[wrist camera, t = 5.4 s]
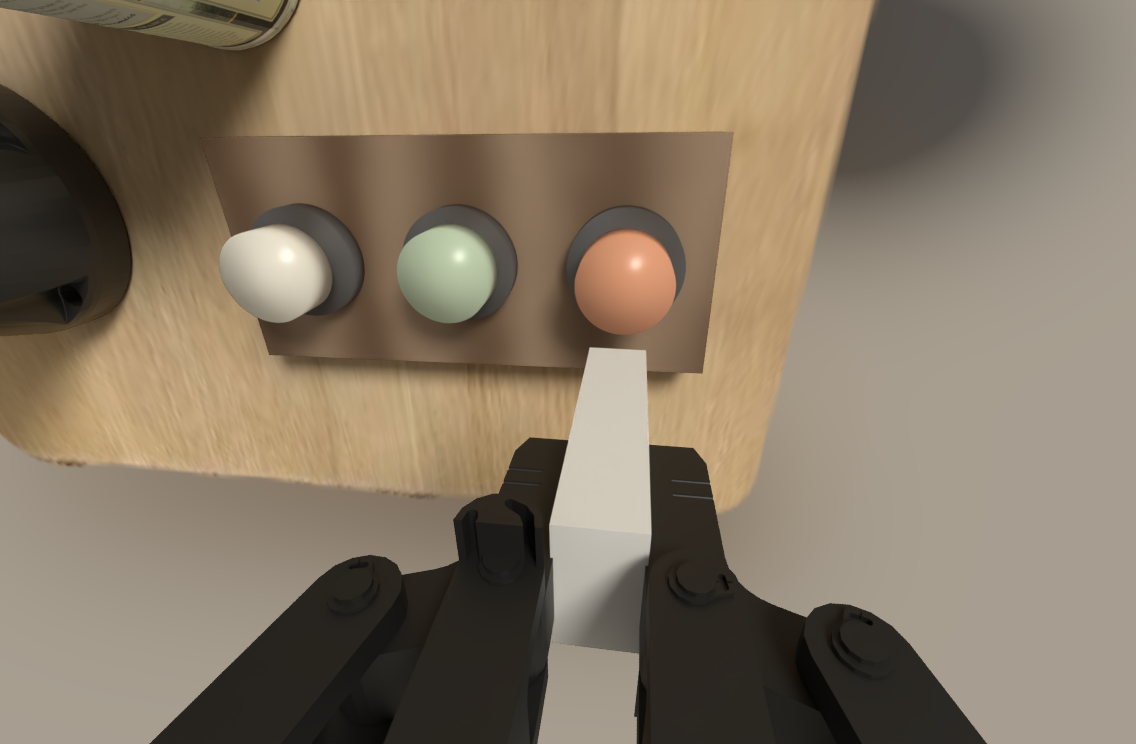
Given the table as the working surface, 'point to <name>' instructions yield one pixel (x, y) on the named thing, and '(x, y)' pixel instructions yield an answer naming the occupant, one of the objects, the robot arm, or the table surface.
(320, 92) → the table surface
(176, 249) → the table surface
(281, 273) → the button cream
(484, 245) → the button green
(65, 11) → the coffee can
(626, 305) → the button terracotta
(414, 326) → the button panel
